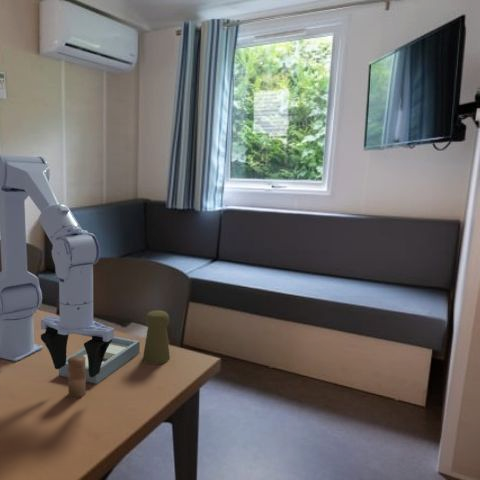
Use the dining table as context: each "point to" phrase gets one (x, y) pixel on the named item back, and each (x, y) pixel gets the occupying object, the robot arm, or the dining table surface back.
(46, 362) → the dining table surface
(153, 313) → the cork
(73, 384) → the peg
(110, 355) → the box
